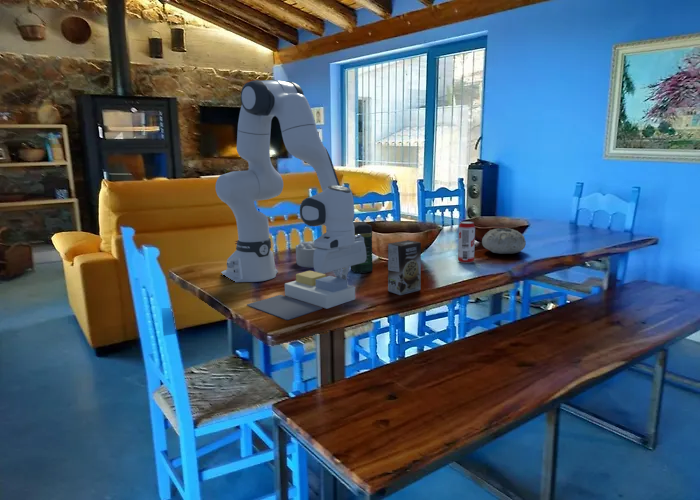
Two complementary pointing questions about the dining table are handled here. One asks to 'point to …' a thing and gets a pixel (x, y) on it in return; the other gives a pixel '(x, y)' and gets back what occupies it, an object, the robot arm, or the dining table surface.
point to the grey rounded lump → (504, 241)
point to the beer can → (466, 242)
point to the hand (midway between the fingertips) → (341, 281)
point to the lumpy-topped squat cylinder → (305, 254)
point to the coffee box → (404, 267)
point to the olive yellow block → (309, 277)
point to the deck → (319, 294)
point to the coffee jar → (366, 232)
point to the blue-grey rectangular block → (331, 283)
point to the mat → (284, 307)
